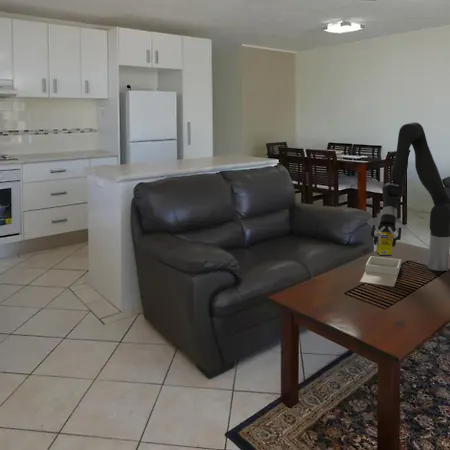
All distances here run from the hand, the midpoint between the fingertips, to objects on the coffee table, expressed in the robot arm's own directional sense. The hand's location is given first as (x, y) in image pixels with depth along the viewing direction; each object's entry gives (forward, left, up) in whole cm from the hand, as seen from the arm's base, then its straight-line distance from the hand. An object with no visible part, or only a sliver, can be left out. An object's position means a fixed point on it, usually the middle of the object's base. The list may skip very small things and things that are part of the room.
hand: (384, 245), depth 231 cm
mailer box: (0, +6, -13) cm, 14 cm away
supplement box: (0, -1, -5) cm, 6 cm away
